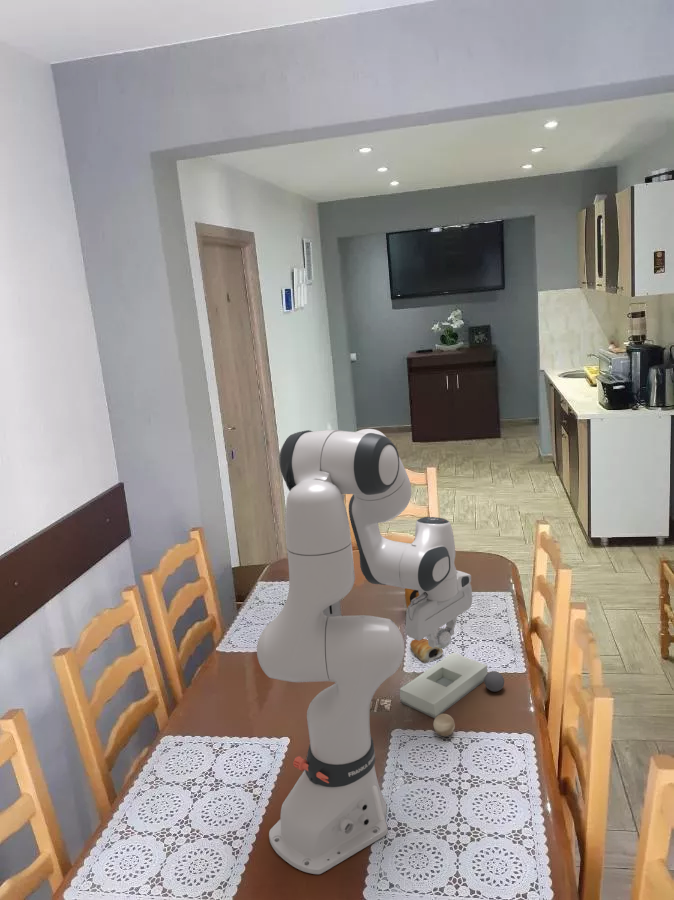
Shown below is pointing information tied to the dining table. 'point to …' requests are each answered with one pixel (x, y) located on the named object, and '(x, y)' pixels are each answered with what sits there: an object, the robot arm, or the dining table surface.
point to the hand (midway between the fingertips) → (441, 640)
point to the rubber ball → (494, 681)
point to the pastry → (425, 650)
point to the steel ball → (442, 637)
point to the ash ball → (444, 724)
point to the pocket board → (443, 684)
